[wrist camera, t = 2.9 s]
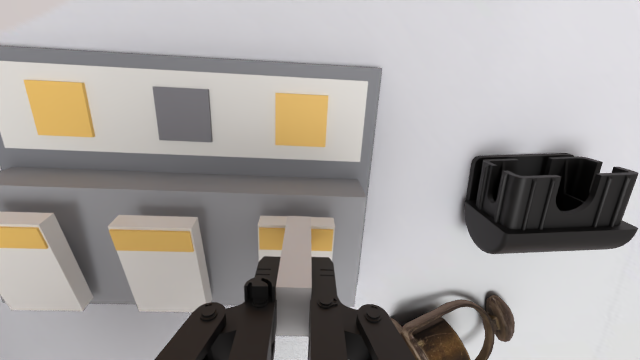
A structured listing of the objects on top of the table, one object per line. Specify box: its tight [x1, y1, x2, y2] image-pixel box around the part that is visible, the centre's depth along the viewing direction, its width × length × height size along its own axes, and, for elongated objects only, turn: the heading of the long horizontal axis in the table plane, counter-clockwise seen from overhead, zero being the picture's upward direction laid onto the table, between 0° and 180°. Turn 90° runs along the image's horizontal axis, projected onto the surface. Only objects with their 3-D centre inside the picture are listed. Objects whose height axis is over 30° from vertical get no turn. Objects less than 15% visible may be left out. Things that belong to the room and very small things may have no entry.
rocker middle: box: [108, 215, 212, 312], centre depth 21 cm, size 5×8×1 cm, turn 177°
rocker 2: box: [258, 216, 335, 261], centre depth 21 cm, size 5×8×1 cm, turn 177°
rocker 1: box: [0, 211, 93, 311], centre depth 20 cm, size 5×8×1 cm, turn 177°
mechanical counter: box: [390, 295, 515, 360], centre depth 29 cm, size 7×13×10 cm
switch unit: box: [0, 46, 382, 307], centre depth 23 cm, size 30×20×5 cm, turn 87°
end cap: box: [465, 153, 638, 254], centre depth 24 cm, size 10×7×7 cm
